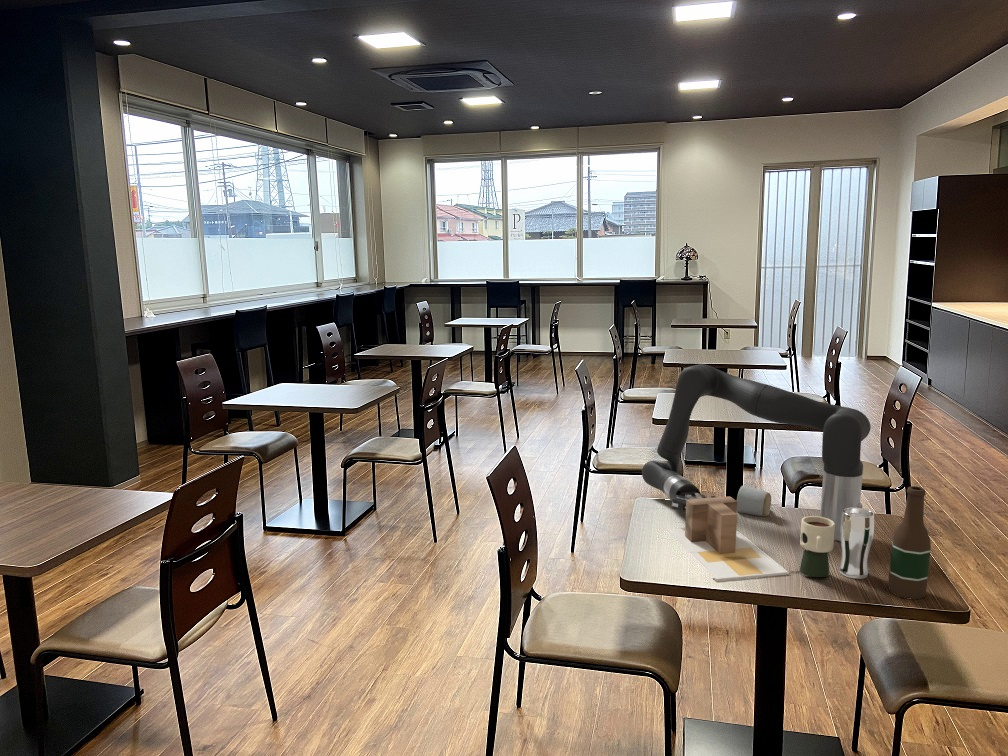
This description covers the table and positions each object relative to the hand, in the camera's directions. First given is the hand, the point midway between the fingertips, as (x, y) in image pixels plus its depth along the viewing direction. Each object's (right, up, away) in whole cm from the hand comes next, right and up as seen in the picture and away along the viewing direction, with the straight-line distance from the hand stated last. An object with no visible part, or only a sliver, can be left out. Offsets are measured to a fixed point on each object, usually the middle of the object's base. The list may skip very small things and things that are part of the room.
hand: (707, 513), depth 198 cm
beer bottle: (+36, -12, -30) cm, 48 cm away
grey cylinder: (+18, -3, +18) cm, 25 cm away
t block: (+1, -7, -5) cm, 8 cm away
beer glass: (+28, -10, -20) cm, 36 cm away
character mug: (+19, -11, -21) cm, 30 cm away
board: (+2, -8, -8) cm, 12 cm away
